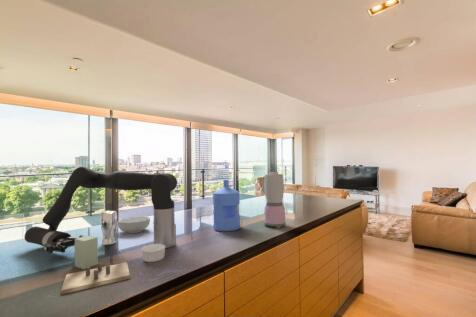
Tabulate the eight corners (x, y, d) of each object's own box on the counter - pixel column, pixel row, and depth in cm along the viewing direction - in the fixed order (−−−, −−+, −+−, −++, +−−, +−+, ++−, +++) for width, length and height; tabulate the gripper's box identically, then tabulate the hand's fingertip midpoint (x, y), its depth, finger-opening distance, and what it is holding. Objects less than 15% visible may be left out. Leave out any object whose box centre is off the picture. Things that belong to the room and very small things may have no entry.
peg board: (126, 265, 87) (126, 255, 87) (129, 278, 76) (129, 266, 76) (66, 277, 78) (66, 266, 78) (61, 294, 67) (61, 281, 67)
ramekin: (165, 261, 90) (165, 249, 90) (140, 264, 88) (140, 252, 88) (165, 253, 99) (165, 242, 99) (143, 255, 96) (143, 245, 96)
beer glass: (110, 245, 109) (109, 213, 110) (97, 245, 111) (97, 213, 111) (120, 241, 116) (120, 210, 117) (108, 240, 118) (108, 210, 118)
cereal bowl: (156, 229, 136) (156, 217, 137) (129, 237, 122) (129, 223, 123) (138, 226, 145) (138, 215, 146) (111, 233, 131) (111, 220, 132)
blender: (290, 225, 139) (288, 171, 140) (277, 229, 131) (275, 172, 132) (269, 221, 151) (268, 171, 152) (256, 225, 143) (255, 172, 144)
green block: (74, 266, 87) (74, 238, 88) (88, 261, 92) (88, 235, 92) (83, 269, 84) (83, 241, 85) (97, 264, 89) (97, 237, 89)
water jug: (207, 229, 135) (206, 180, 136) (224, 223, 147) (223, 179, 148) (229, 233, 126) (228, 181, 127) (245, 226, 139) (244, 179, 140)
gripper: (36, 236, 94) (55, 241, 86) (75, 227, 106) (95, 231, 98) (36, 255, 93) (55, 262, 85) (75, 244, 106) (95, 250, 98)
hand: (76, 246), depth 92 cm, fingers open, 8 cm apart
